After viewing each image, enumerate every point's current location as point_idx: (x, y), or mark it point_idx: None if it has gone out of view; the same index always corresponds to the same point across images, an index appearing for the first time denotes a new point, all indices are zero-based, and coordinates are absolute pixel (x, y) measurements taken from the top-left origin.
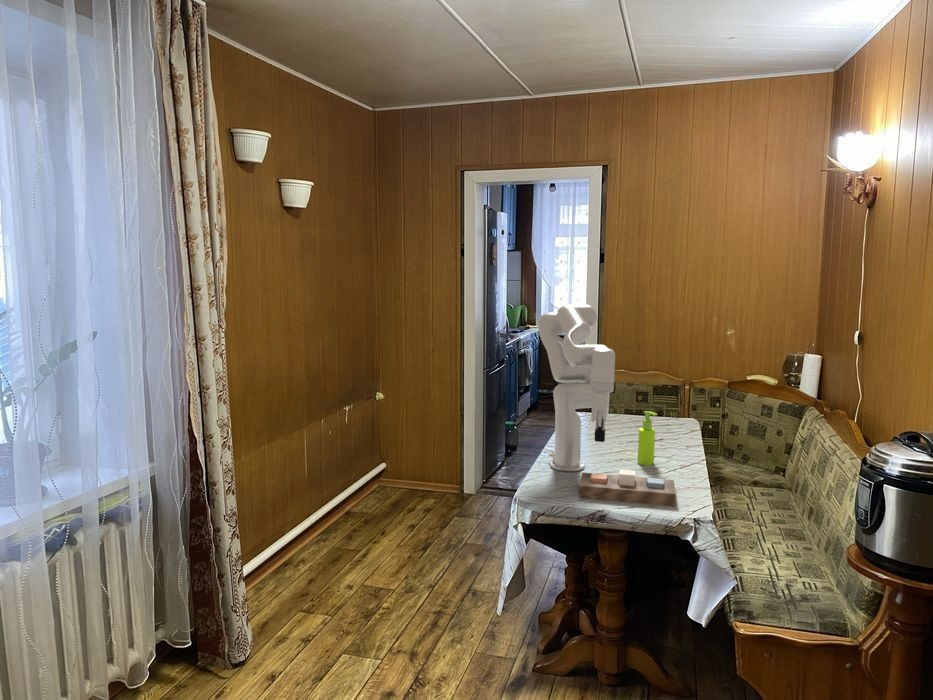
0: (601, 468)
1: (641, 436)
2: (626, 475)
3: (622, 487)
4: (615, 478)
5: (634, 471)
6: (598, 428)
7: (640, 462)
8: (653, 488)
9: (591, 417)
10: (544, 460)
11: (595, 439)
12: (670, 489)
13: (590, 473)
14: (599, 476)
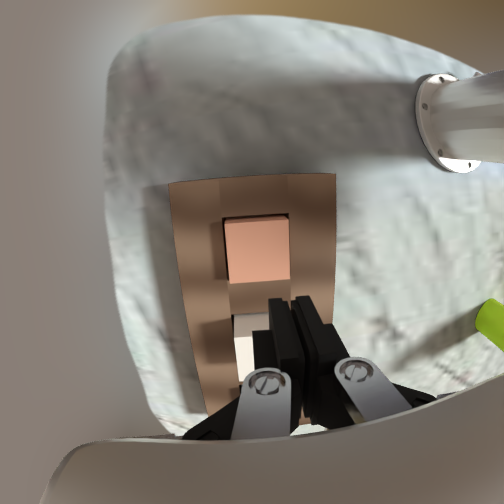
0: (459, 221)
1: None
2: (236, 357)
3: (208, 329)
4: None
5: None
6: (230, 413)
7: (484, 308)
8: (234, 398)
9: (52, 490)
10: (468, 67)
11: (269, 309)
12: None
13: (332, 205)
14: (254, 254)
